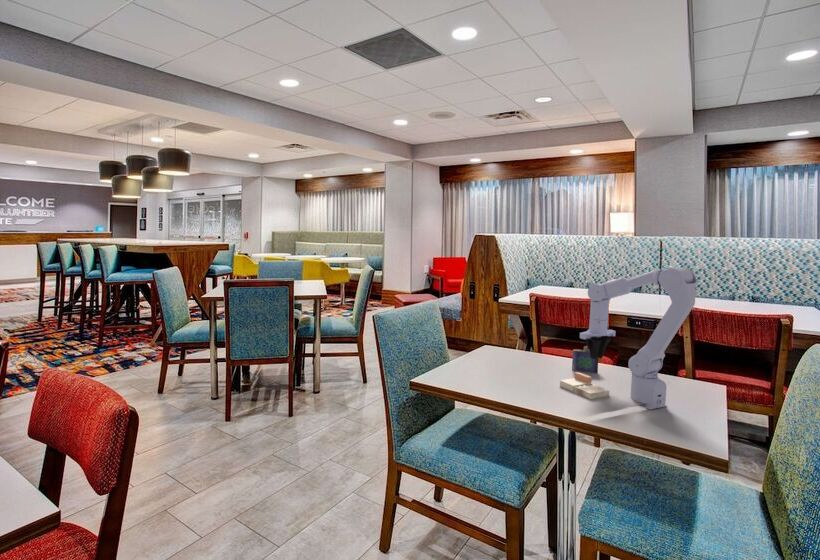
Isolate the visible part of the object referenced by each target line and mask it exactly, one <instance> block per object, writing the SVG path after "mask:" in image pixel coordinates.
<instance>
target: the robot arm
mask: <svg viewBox="0 0 820 560" xmlns="http://www.w3.org/2000/svg"><path fill="white" fill-rule="evenodd" d="M651 284H654V285H656V286H659V285H660V286H661V289H663V290H664V291H665V292H666V294H667V295H668V296H669V298H670V301H671V303H670V305H669V307H668V308H667V310H666V312H665V313H664V315H663V317H662V318H661V319H660V321H659V322H658V324H657V326H656V328H655V329H654V331H653V333H652V334H651V335H650V337H649V339H648V340H647V342H646V344H645V345H644V346H643V347H641V348H640V349H639V350H638V351H637V353H636V354H634V355H633V356H631V357H630V358H629V360H628V365H627V366H628V369H629V371H630V372H631V384H630V399H631V400H633V401H635V402H639V403H642V404H640V405H638V406H639V407H641V408H645V409H646V410H655V409H659V408H663V407H664V408H665V407H667V406H668V405H667V403H666V400H667V399H666V398H667V384H666V382H665V381H664V380H663V379H660V378H659V371H660V370H661V369H662V368H663V365H664V364H663V363H664V362H663V361H664V358H665V357H666V354H665V351H666V349H667V348H668V346H669V345H670V343H671V342H672V340H673V339H674V337H675V335H676V334H677V333H678V331H679V329H680V328H681V327H682V325H683V323H684V322H685V320H686V319H687V317H688V316H689V314H690V313H691V311H692V309H693V307H695V305H696V286H697V284H698V278H697V277H696V275H695V273H694V271H693V270H692V269H691V268H689V267H686V266H681V267H665V268H664V269H663V268H662V269H656V270H651V271H648V272H645V273H643V274H640V275H637V276H635V277H634V276H633V277H631V278H627V277H625V276H621V275H618V276H615V277H614V279H611V280H608V281H607V280H603V281H602V283H593V284H591V285H590V286H589V288H587V289H588V290H587V296H588V298H589V299H590V307H589V309H590V311H589V326H588V329H587V330H586V331H582V332H579V339H581V340H585V342H586V344H587V345H586V346H588V347H587V348H588V349H589V351H590V355H591V358H593V359H597V357H598V359H603V357H604V354H605V350H606V349H607V347H608V345H609V344H610V342H611V337H616V330H613V329H608V325H609V307H610V300H611V299H614V298H618V297H621V296H625V295H628V294H630V293H631V291H632V289H635V288H639V287H644V286H647V285H651Z"/></svg>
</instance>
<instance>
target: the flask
mask: <svg viewBox="0 0 820 560" xmlns="http://www.w3.org/2000/svg"><path fill="white" fill-rule="evenodd" d="M571 362H572V363H571V370H572V371H575V372H578V371H579V372H586V373H592V374H598V373H599V372H598V371H599V370H598V369H599V358H598V357H597V359H593V358H591V355H590V351H589V347H588V345H584V346H583V349H573V350H572V361H571Z"/></svg>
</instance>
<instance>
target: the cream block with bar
mask: <svg viewBox="0 0 820 560" xmlns="http://www.w3.org/2000/svg"><path fill="white" fill-rule="evenodd" d="M573 376H574V377H573V378H566V379H561V380H559V387H561V388H563V389H566V390H568V391H570V392H573V393H574V387H576V386H582V385H589V384H592V379H593V378H592V376H590V375H588V374H585V373H582V372H580V371H579V372H578V371H575V372H574V375H573Z"/></svg>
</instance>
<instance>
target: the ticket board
mask: <svg viewBox="0 0 820 560" xmlns="http://www.w3.org/2000/svg"><path fill="white" fill-rule="evenodd" d="M573 393H574V394H577V395H579V396H582V397H584V398H587V399H589V400H595V399H599V398H600V399H601V398H607V397H610V389H607V388H604V387H602V386H600V385H596V384H594V383H591V384H589V385H582V386H576V387H574V392H573Z"/></svg>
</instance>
